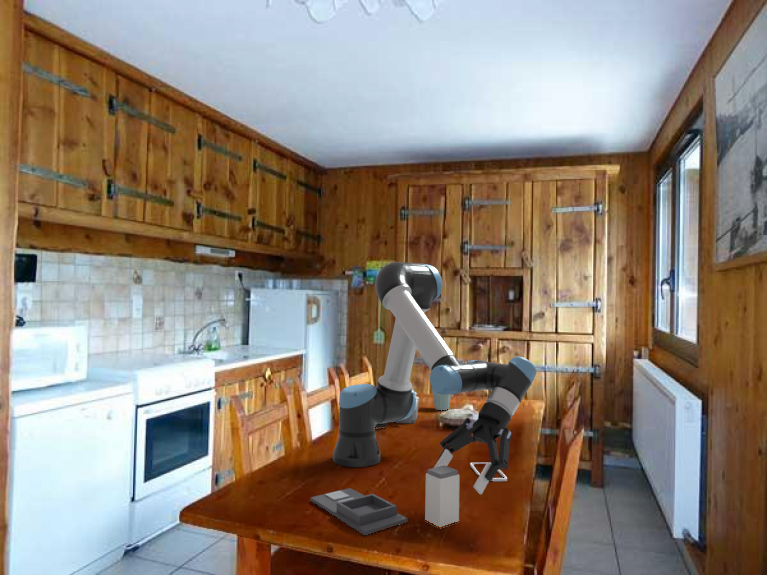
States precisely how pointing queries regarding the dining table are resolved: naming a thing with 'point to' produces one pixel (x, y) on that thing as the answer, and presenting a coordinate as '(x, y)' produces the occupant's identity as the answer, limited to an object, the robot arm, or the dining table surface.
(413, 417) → the electrical outlet
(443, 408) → the disposable coffee cup
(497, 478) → the silver rectangular frame
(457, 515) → the plug
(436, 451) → the dining table surface
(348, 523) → the grey socket base plate
